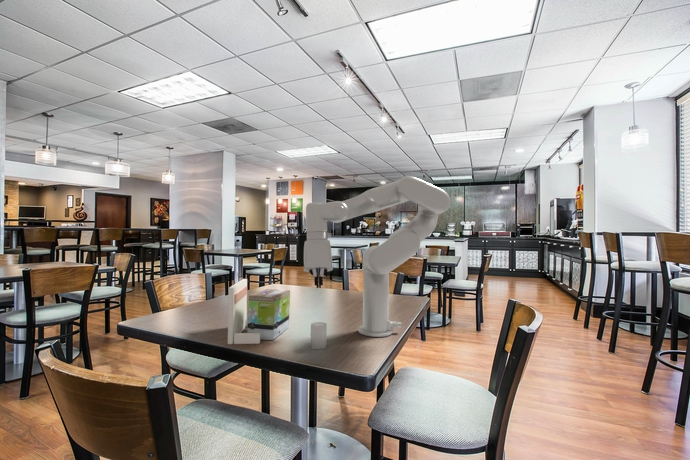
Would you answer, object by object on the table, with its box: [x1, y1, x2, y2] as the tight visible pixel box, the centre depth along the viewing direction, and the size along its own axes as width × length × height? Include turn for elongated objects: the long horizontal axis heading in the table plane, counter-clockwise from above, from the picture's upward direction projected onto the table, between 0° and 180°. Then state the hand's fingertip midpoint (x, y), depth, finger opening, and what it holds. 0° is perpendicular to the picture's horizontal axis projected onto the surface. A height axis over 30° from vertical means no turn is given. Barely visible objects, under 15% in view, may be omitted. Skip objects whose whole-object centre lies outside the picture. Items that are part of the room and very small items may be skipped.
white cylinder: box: [310, 321, 327, 350], centre depth 103 cm, size 5×5×7 cm
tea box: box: [246, 288, 291, 341], centre depth 116 cm, size 15×10×15 cm
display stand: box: [227, 278, 261, 345], centre depth 115 cm, size 10×21×18 cm, turn 5°
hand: (318, 287), depth 117 cm, fingers closed
